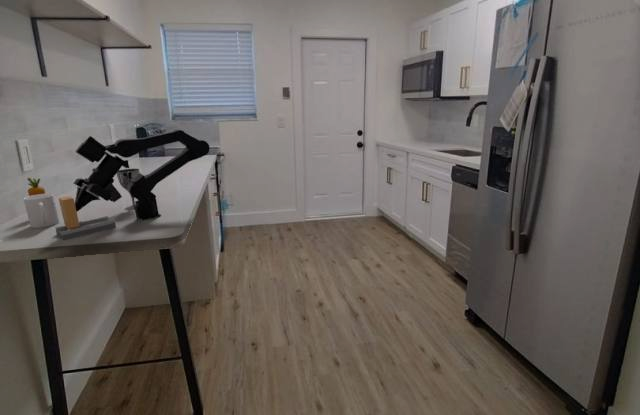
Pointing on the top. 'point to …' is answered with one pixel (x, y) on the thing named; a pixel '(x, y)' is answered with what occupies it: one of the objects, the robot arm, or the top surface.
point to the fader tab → (69, 213)
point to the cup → (41, 210)
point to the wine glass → (127, 181)
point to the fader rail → (86, 228)
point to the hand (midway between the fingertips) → (75, 210)
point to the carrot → (35, 187)
